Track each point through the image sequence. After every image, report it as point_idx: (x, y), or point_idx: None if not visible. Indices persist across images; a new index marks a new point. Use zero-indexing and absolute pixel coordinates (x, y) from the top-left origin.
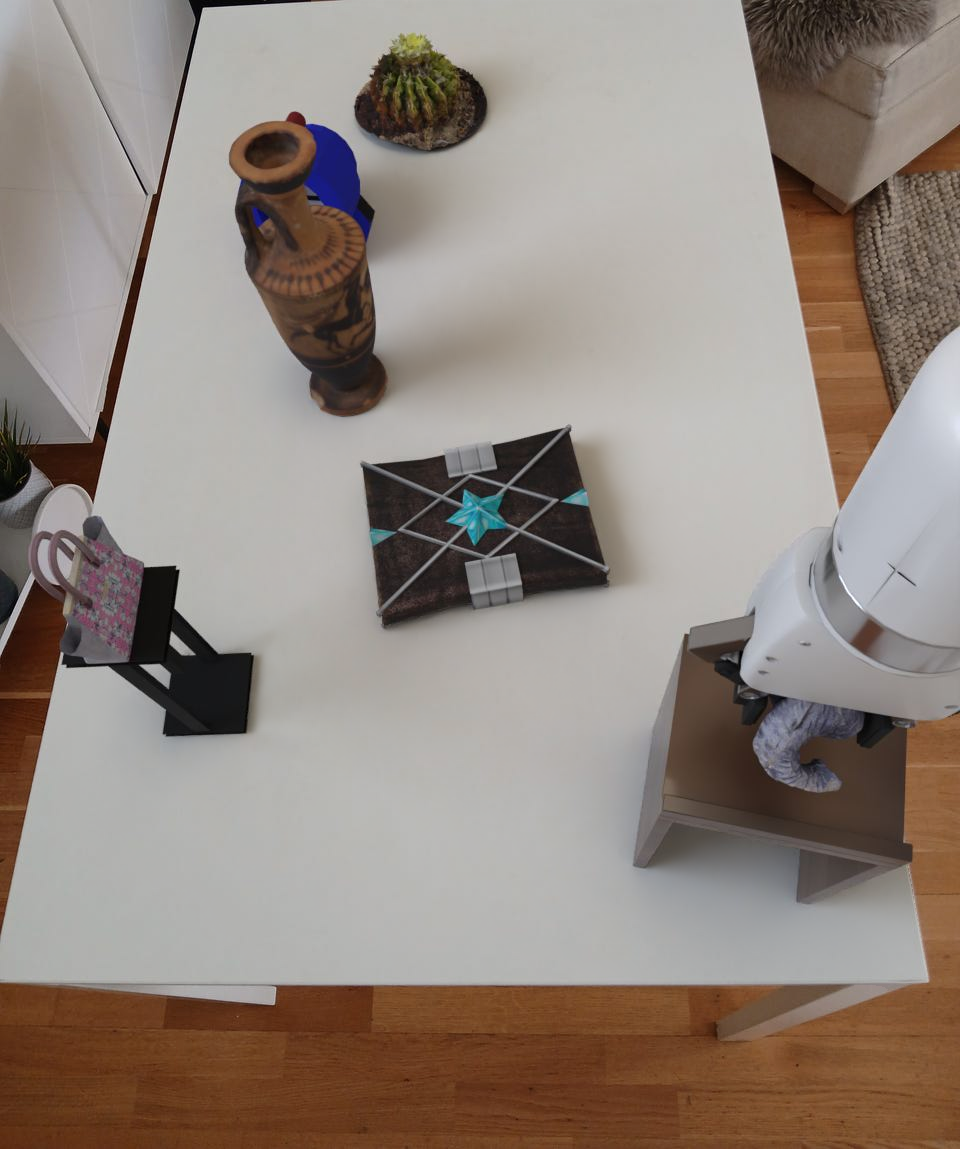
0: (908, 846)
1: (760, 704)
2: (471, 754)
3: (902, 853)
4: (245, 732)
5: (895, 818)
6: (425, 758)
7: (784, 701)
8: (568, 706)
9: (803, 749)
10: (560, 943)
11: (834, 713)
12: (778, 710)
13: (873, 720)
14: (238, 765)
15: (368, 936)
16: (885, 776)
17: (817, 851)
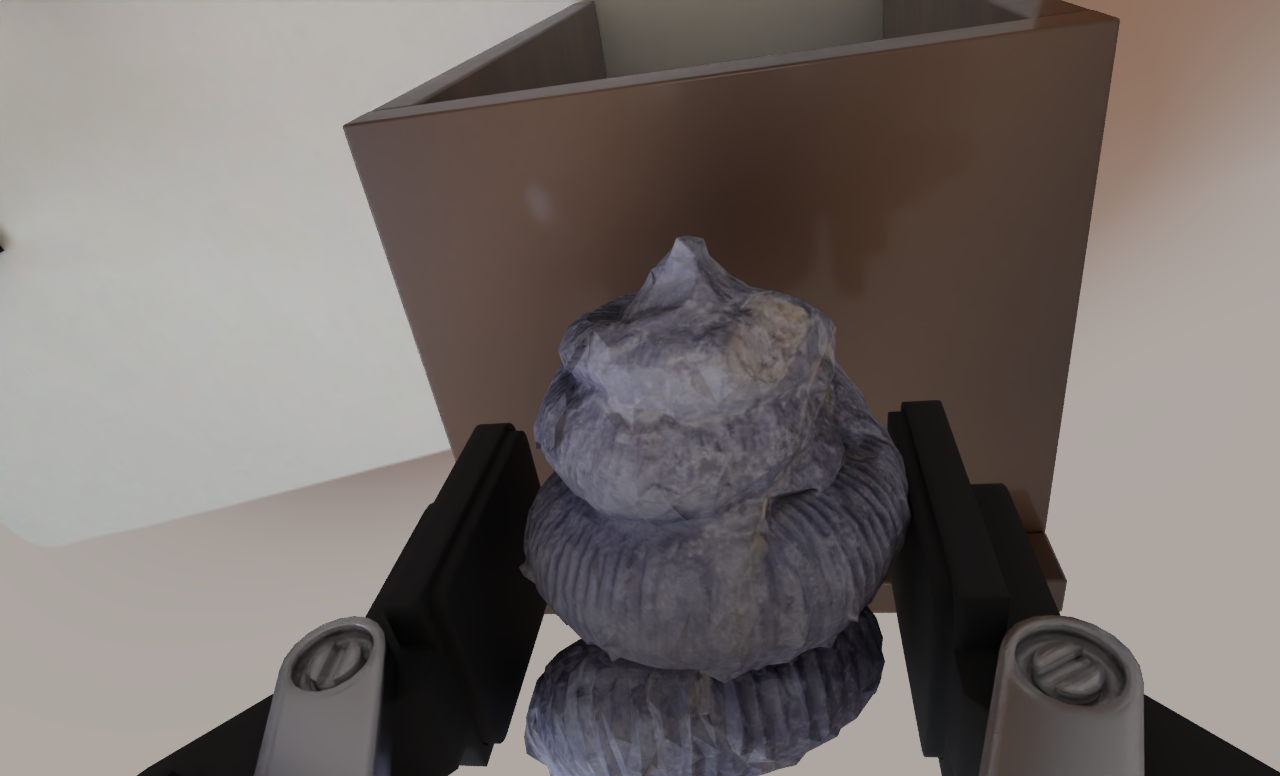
0: (1054, 585)
1: (472, 762)
2: (309, 171)
3: None
4: (1, 250)
5: (1029, 475)
6: (251, 201)
7: (562, 702)
8: (410, 22)
9: None
10: None
11: (744, 767)
12: (549, 737)
13: (916, 690)
14: (35, 295)
15: (334, 437)
16: (1007, 385)
17: None
